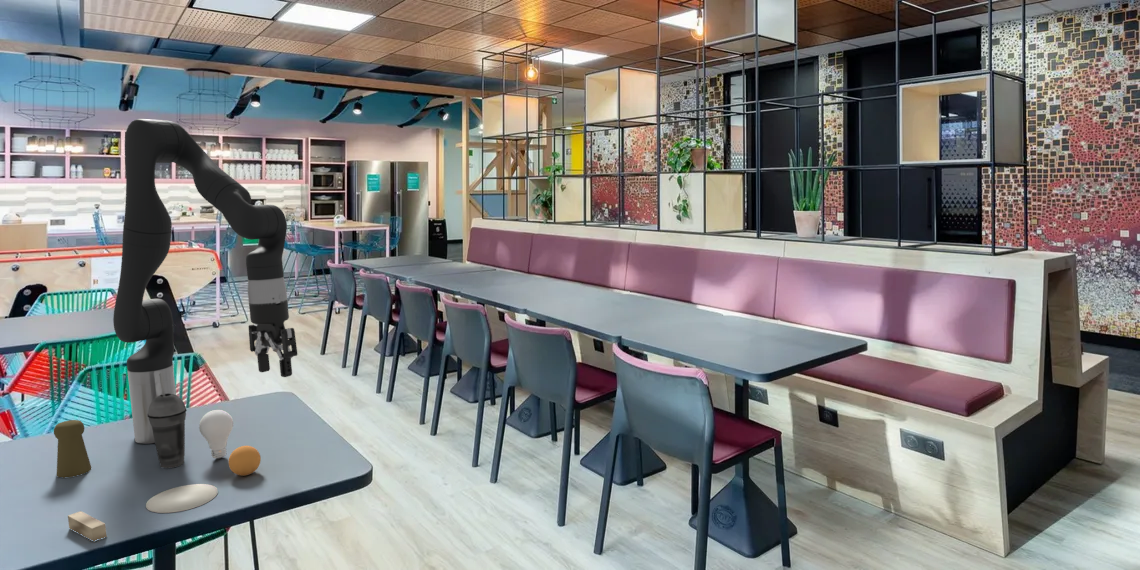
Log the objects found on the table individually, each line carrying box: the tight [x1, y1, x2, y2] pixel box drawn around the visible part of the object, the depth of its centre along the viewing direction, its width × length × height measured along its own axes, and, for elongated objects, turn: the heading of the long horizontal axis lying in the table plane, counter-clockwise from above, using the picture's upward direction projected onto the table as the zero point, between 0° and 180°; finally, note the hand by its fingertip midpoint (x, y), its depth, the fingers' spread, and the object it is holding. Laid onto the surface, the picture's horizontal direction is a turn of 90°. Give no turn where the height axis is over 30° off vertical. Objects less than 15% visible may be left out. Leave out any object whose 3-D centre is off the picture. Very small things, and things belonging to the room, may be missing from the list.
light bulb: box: [198, 409, 234, 460], centre depth 151 cm, size 7×7×11 cm
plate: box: [145, 483, 219, 514], centre depth 132 cm, size 12×12×1 cm
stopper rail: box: [67, 510, 108, 541], centre depth 119 cm, size 9×2×2 cm, turn 57°
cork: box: [53, 419, 92, 479], centre depth 145 cm, size 6×6×11 cm
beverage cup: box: [148, 373, 188, 469], centre depth 148 cm, size 7×7×20 cm
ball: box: [228, 445, 261, 477], centre depth 143 cm, size 6×6×6 cm
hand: (275, 373), depth 149 cm, fingers open, 8 cm apart
